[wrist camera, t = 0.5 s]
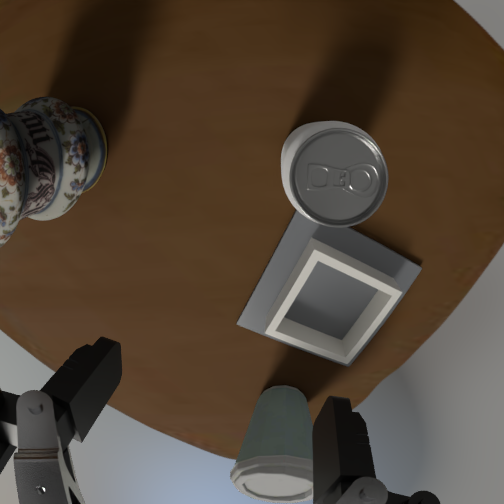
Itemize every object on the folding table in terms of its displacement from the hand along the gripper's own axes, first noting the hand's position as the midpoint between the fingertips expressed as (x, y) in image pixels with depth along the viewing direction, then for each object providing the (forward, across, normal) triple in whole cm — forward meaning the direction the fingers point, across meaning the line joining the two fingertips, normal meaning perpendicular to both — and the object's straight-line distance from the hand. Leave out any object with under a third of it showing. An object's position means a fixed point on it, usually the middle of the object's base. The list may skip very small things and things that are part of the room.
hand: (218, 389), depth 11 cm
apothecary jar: (+20, +22, -5) cm, 30 cm away
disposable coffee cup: (+23, -8, +22) cm, 33 cm away
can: (+21, -3, -8) cm, 23 cm away
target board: (+22, -8, +5) cm, 24 cm away
